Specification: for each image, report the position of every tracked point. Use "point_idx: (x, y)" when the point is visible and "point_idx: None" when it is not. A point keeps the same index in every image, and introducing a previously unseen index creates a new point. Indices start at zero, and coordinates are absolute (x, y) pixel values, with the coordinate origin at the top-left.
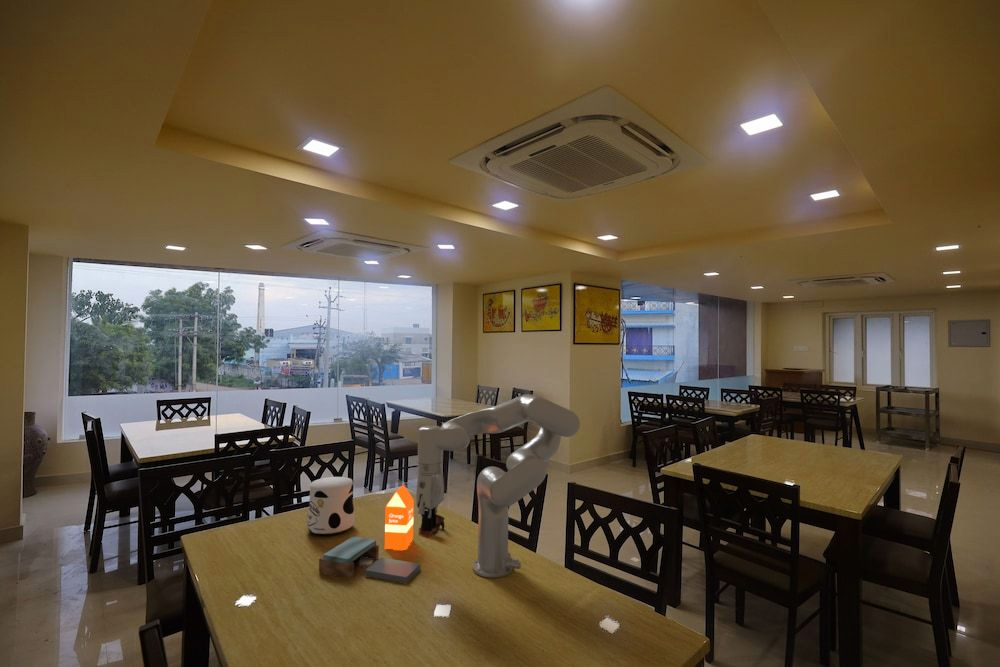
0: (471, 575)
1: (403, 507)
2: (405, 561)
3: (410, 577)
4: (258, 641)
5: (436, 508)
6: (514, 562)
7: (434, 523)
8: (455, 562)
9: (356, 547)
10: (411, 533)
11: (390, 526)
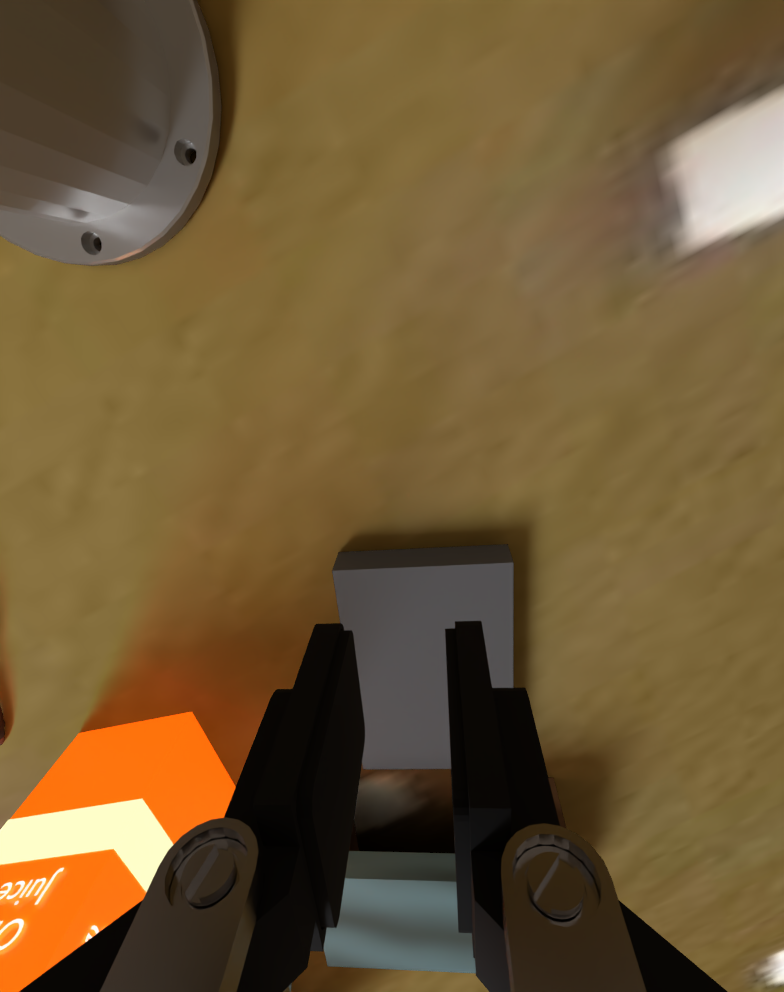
0: (243, 211)
1: None
2: None
3: (460, 552)
4: None
5: (157, 975)
6: None
7: (340, 679)
8: (149, 411)
9: (434, 909)
10: (73, 771)
11: None
